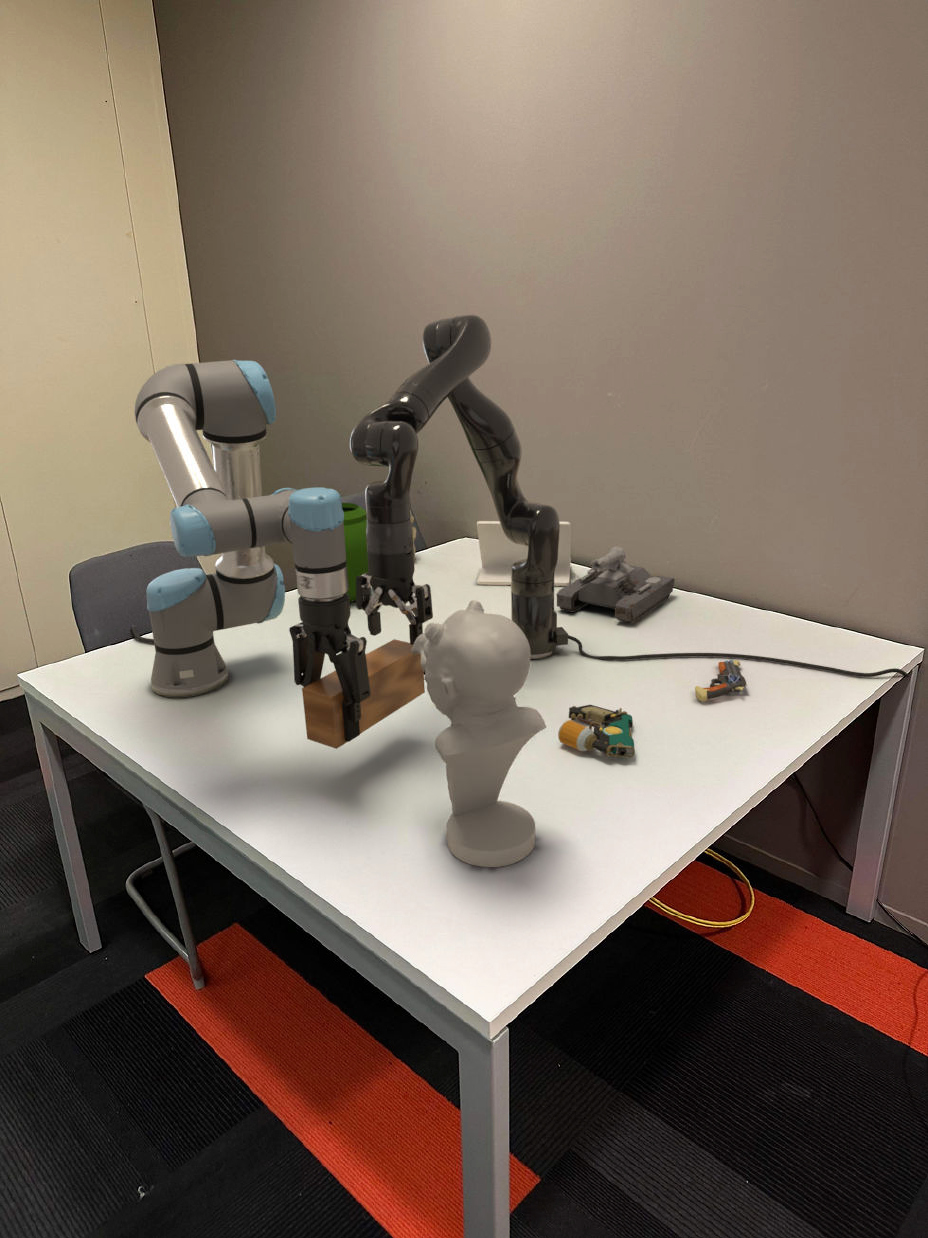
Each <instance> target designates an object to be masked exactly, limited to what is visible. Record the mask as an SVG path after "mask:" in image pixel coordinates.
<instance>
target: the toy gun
mask: <svg viewBox="0 0 928 1238" xmlns="http://www.w3.org/2000/svg"><path fill="white" fill-rule="evenodd" d="M741 666H742V665H741V661H740V660H738V659H735V660H733V659H730V660H724V661H719V662H718V671H719V673H716V674H717V678H713V679H711V680H710V682H711V683H710V684H709V687H701V686H699V685H696V686H694V692H695V697H696V699H697V700H698V701H699V702H706V701H708V700H709V701H710V700H713V699H716V698H720V697H723V696H726V695H729V694H733V693H734V692H736V691H740V692H743V691H744V689H745V687H747V686H749V685H748V684H747V681H746V678H745V677H744V676H743V674H742V673H741V669H740V667H741Z"/></svg>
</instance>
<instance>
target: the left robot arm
mask: <svg viewBox="0 0 928 1238" xmlns="http://www.w3.org/2000/svg"><path fill="white" fill-rule="evenodd" d="M134 404H135V405H134V418H135V419H134V420H135V423H136V425H137V428H138V430H139V433H140V434H141V435H142V437H143V438H144V439H145V440H146V441H147V442H148V443H150V444H151V447H152V449H153V451H154V454H155V456H156V459H157V461H158V463H159V466H160V468H161V471H162V473H163V476H164V478H165V480H166V483H167V485H168V488H169V490H170V493H171V494H172V497H173V500H174V502H175V505H176V507H174V508H172V510H171V511H170V514H169V523H170V530H171V531H170V532H171V536H172V539H173V543H174V547H175V550H176V552H177V553H178V554H179V555H180V556H181V557H183V558H194V557H202V556H203V557H211V556H213V555H220V554H221V556H220V557H219V558H218V559H217V560H216V561H215V567H214V568H215V572H214V573H210V574H206V572H205V571H204V570H203V569H201V568H199V567H191V568H186V567H185V568H180V569H175V570H171V571H169V572H166V573H163V574H161V575H159V576H157V577H156V578H154V579H152V580H151V581H150V582H149V583H148V585H147V587H146V591H145V593H146V609H147V611H148V613H149V619H150V627H151V631H152V638H148V637H143V636H140V635H139V634H138V632H137V629H136V628H137V627H136V625H134V624H132V625H131V626H130V631H131V633H132V635H133V636H134V638H135V640H136V641H137V640H138V641H139V642H142V643H148V644H154V650H155V654H154V660H153V664H152V665H153V666H152V671H151V675H150V676H151V677H150V684H151V689H152V691H153V693H155V694H157V695H159V696H161V697H167V698H190V697H196V696H201V695H204V694H207V693H210V692H213V691H215V690H217V689H219V688H220V687H222V686H224V684H226V682H227V681H228V679H229V672H228V671H229V670H228V667H227V664H226V662H225V661H224V659H223V657H222V655H221V653H220V650H219V649H218V647H217V646H216V643H215V637H214V632H216V631H222V630H227V629H233V628H238V627H244V626H248V625H254V624H256V625H257V624H259V625H260V624H262V623H264V622H268V621H271V620H275V619H277V618H278V617H279V616H281V614H282V612H283V609H284V608H285V601H286V600H285V599H286V586H285V583H284V582H285V579H284V575H283V572H282V569H281V567H280V566H279V565H278V564H276V563H275V562H274V559H273V558H272V557H271V556H270V555H268V554H267V553H266V547H272V546H277V545H283V544H291V545H292V552H293V560H294V568H295V578H296V579H295V580H296V589H297V594H298V596H299V597H298V599H297V600H298V601H297V602H298V611H299V620H300V621H301V622H299V623H297V624H295V625H292V626H290V627H289V629H288V631H289V634H290V637H291V640H292V657H293V679H294V684H295V685H296V686H301V687H302V688H304V687H306V686H307V685H309V684H311V683H313V682H315V681H317V680H319V679H321V678H322V674H323V667H324V661H325V658H326V657H325V656H326V655H327V657H328V660H329V662H330V663H331V664H333V666H334V671H336V673H337V676H338V679H339V682H340V685H341V688H342V691H343V694H344V697H345V700H346V701H345V702H343V703H342V711H343V722H344V734H345V741H347V743H349V742H352V741H353V740H354V739H356V738H357V737H359V736H361V734H360V728H359V719H361V704H360V702H362V701H363V700H365V699H367V698H368V697H370V696H371V692H370V684H369V677H368V669H367V662H366V654H367V653H366V649H367V643H368V641H367V638H366V637H365V636H360V637H357V636H355V635H354V634H353V633H352V630H351V628H350V626H349V620H350V617H351V614H352V613H351V602H350V599H349V594H348V593H347V591H348V590H349V585H348V575H347V565H346V550H345V536H344V521H343V520H344V512H343V510H342V503H343V502H342V498H341V495H340V493H339V492H338V491H337V490H336V489H334V488H326V487H307V488H300V489H297V488H292V487H283V488H280V489H277V490H275V491H274V492H273V493H272V494H269V495H263V486H262V472H261V471H262V469H261V454H260V444H261V442H262V441H264V440H265V439H266V437H267V435H268V433H267V425H268V426H270V425H272V424H273V423H276V420H277V418H276V417H277V406H276V401H275V395H274V392H273V389H272V386H271V382H270V380H269V377H268V374H267V373H266V371H265V369H264V368H263V366H262V365H261V364H260V363H258V362H257V361H254V360H237V359H231V360H220V361H218V360H217V361H207V362H206V361H205V362H194V363H193V362H191V363H174V364H171V365H169V366H165V367H163V368H160V369H159V370H157V371H156V372H155V373H154V374H152V375H150V377H149V378H148V379H147V380H146V381H145V382H144V384H143V385H142V386H141V388H140V390H139V392H138V394H137V396H136V400H135V403H134ZM198 431H202V438H203V439H204V440H206V442H208V443H209V444H210V445H211V448H212V455H213V458H212V459H213V463H212V460H211V459H210V457H209V454H208V452H207V450H206V448H205V447H204V444H203V441H202V440H201V437H200V435H199V433H198ZM352 693H353V694H352Z"/></svg>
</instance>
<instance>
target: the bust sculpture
mask: <svg viewBox="0 0 928 1238" xmlns="http://www.w3.org/2000/svg"><path fill="white" fill-rule="evenodd" d="M411 653H412V654H421V667H422V669H423V670H424V682H426V690H427V693H428V696H429V698H430V701H431V702H432V704H434V706H435V708H436V710H438V711H439V712H440V713H441V714H442V716H446V717H447V718H448V719H449V720H450V726H448V727H446V728H445V729H443V730H442V731H441V732H440V733H439V734H438V735H436V738H435V741H434V748H435V749H436V752H437V753H438V755H439V757H440V758H441V760H442V761H443V762H444V763H445V771H446V781H447V790H448V796H449V800H450V803H451V810H452V813H451V814H450V815H449V817H448V819H447V822H446V844H447V847H448V849H449V851H450V852H451V854H452V855H453V856H454V857H456V858H457V859H459V860H460V861H462V862H463V863H466V864H469V865H471V866H476V867H483V868H498V867H505V866H509V865H512V864H517V862H520V861H521V860H523V859H525V858H527V856H528V855H530V854H531V852H532V851H533V849H535V848H534V847H535V845H536V822H535V821H536V820H535V819H534V817H533V816H532V814H531V813H530V812H529V811H528V810H526V809H525V808H524V807H522V806H520V805H517V804H515V803H513V802H509V801H504V800H499V796H500V793H501V790H502V788H503V785H504V783H505V780H506V778H507V776H508V773H509V771H510V769H511V768H512V765H513V763H514V761H515V760H516V759H517V756H518V755H519V753H520V752H521V750H522V749H523V748H524V747H525V745H526V744H527V743H528V742H529V741H530V740H531V739H532V738H533V737H535V735H537V734H538V733H539V732H541V731H544V730H545V729H546V728H547V725H546V723H545V720H544V718H543V717H542V714H541V713H540V712H539V711H538V710H537V709H535V708H533V707H530V706H518V705H517V701H516V699H517V698H516V696H515V695H516V694H517V693H519V691H521V689H522V688H523V686H524V684H525V683H526V680H527V678H528V675H529V669H530V666H531V659H530V656H531V655H530V653H531V652H530V646H529V643H528V640H527V638H526V636H525V634H524V633H523V632H522V630H521V629H520V628H519V627H518V626H517V625H516V624H515V623H514V622H513V621H512V620H511V618H508V617H507V616H504V615H503V614H502V615H501V614H496V613H485V609H484V607H483V605H482V603H481V602H480V601H478V600H473V599H472V600H470V601H469V603H468V605H467V607H466V609H460V610H457V611H455V612H453V613H451V615H449V616H448V617H447V618H446V619H445V620H444V622H442V624H441V623H435V622H430V623H428V624H427V625H426V626H425V628H424V632H423V634H421V635H419V636H418V637H417V639H416V640H415V642H414V645H413V647H412V649H411Z"/></svg>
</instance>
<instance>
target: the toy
mask: <svg viewBox="0 0 928 1238" xmlns="http://www.w3.org/2000/svg"><path fill="white" fill-rule="evenodd" d="M626 557H627V556H626V551H625V549H624V548H622V547H621V546H614V547H612V548H611V549H610V550H609V552H608V553H607V554H605V555H604V556H601V557H599V558H598V559H597V557H596V558H594V559H593V560H592V561H590V562H589V563H590V564H591V565H592V567H591V568H590V569H589V570H587V573H586V575H584V576H582V577H580V578H578V579H577V580H575V581H573V582H570V583H569V585H567V586H563V587H562V588H560V589H559V590H558V591H557V592H556V607H558V608H559V609H560V610H562V611H566V612H572V613H575V612H577V611H579V610H581V609H582V608H585V607H586V606H588V605H592V606H598V607H602V608H603V607H604V608H609V609H613V610H614V618H615V619H617V620H618V621H621V622H626V623H631V624H634V623H635V622H637V621H638V620H640V619H641V618H642V617H644V616H645V615H647V614H648V613H650V612H651V611H652V610H654V609H655V608H657V607H659V606H660V605H661V604H663V603H664V602H666V601H667V600H669V598H670V596H671V594H672V593H673V591H674V585H675V580H676V579H675V578H673V577H668V576H663V575H656V576H655V577H654V576H651V574H650V573H649V572H648V571H647V570H646V568H644V567H641V566H635V565H629V564H628V563H627V562H626V561H625V559H626Z"/></svg>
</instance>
